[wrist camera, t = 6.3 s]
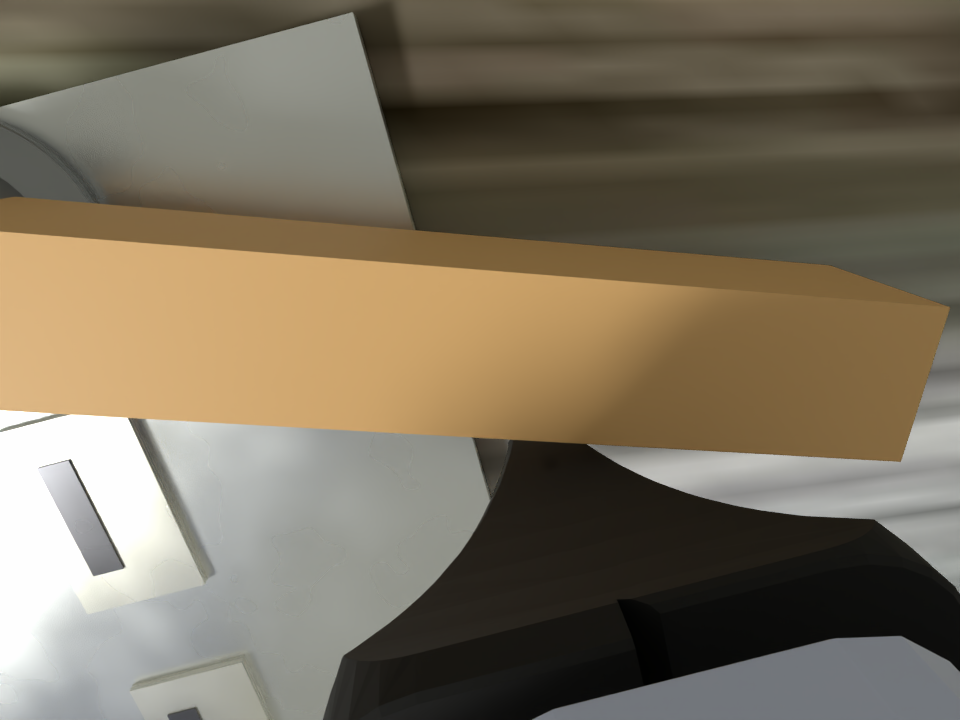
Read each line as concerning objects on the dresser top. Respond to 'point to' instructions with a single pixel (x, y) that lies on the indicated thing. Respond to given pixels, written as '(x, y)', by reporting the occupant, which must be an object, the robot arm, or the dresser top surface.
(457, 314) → the tan piece
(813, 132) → the dresser top surface
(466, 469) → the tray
